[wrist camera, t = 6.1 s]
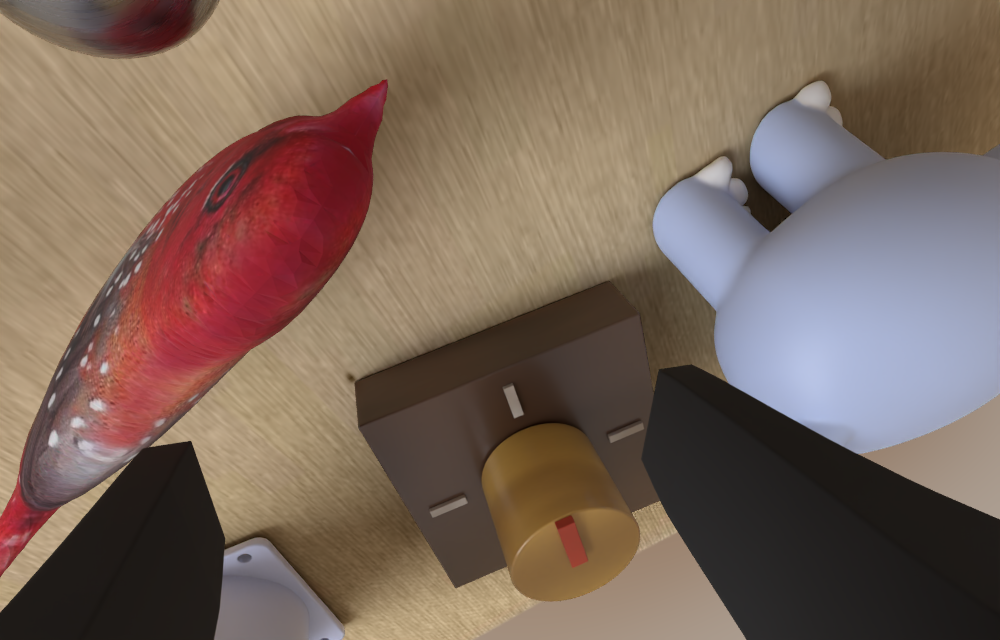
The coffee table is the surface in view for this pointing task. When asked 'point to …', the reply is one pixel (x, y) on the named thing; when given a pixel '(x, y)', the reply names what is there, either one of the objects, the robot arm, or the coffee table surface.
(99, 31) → the door handle
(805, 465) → the robot arm
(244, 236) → the decorative bird figurine
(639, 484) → the plate
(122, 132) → the coffee table surface
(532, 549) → the lock knob
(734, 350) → the hippopotamus toy
